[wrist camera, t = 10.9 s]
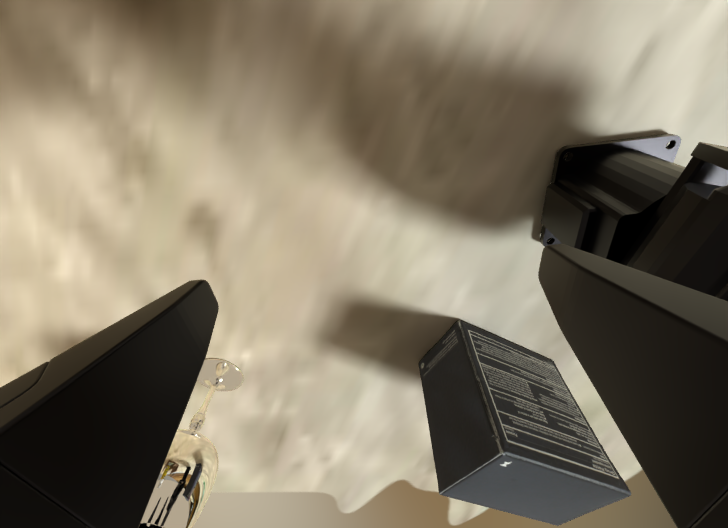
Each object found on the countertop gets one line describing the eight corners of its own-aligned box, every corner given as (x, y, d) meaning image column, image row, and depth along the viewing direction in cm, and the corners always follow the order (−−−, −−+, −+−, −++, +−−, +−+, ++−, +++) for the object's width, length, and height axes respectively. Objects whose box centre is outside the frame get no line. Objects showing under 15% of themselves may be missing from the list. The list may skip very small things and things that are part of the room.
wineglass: (197, 344, 28) (101, 508, 18) (260, 369, 30) (205, 531, 20) (179, 380, 31) (86, 541, 21) (237, 401, 32) (178, 559, 22)
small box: (413, 364, 29) (433, 499, 20) (457, 316, 26) (503, 450, 17) (505, 399, 32) (558, 533, 23) (555, 359, 29) (639, 495, 20)
